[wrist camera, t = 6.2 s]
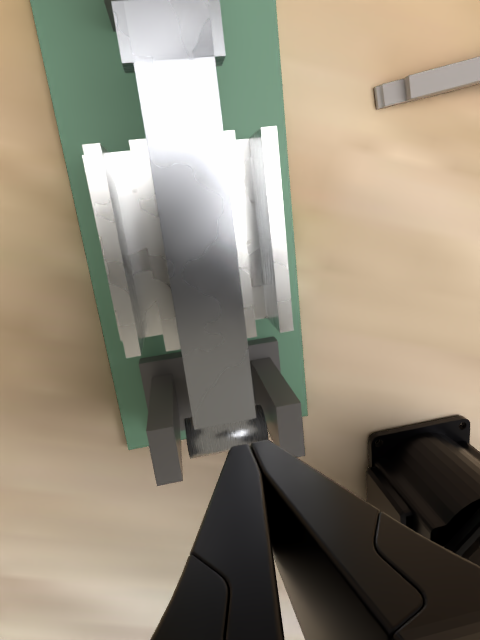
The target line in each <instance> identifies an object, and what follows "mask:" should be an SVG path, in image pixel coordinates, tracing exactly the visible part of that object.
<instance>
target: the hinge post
mask: <svg viewBox="0 0 480 640" xmlns="http://www.w3.org/2000/svg"><path fill="white" fill-rule="evenodd" d="M247 342H248V350H249V359H250V368H251V376H252V385H253V394H254V403H255V405H261V406H262V409H263V412H264V415H265V420H266V424H267V429H268V432H269V434H270V436H271V438H272V440H273V443H274V444H276V445H277V446H279V447H281V448H282V449H284V450H285V451H287V452H289V453H290V454H292V455H293V456H295V457H301V456H305V447H304V435H303V422H302V410H301V402H300V401H299V399H298V398H297V396H296V395H295V393H294V392H293V390H292V389H291V388H290V386H289V385H288V383H287V382H286V380H285V379H284V377H283V376H282V374H281V369H280V359H279V348H278V341H277V339H276V338H275V337H274V336H273V337H267V338H261V339H255V340H249V341H247ZM139 368H140V373H141V378H142V384H143V389H144V394H145V399H146V404H147V409H148V419H147V429H146V433H147V438H148V443H149V448H150V453H151V458H152V463H153V468H154V473H155V478H156V483H157V486H160V485H165V484H169V483H174V482H179V481H183V474H182V454H181V434H180V431H183V430H185V423H184V419H185V418H190V417H192V413H191V406H190V400H189V394H188V388H187V382H186V376H185V370H184V364H183V358H182V352H176V353H170V354H164V355H158V356H152V357H146V358H140V360H139Z"/></svg>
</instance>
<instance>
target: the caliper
mask: <svg viewBox="0 0 480 640" xmlns="http://www.w3.org/2000/svg"><path fill="white" fill-rule="evenodd" d="M476 84H480V57H476V58H472V59H469V60H465V61H461V62H457V63H454V64H450V65H446V66H443V67H439V68H435V69H431V70H428V71H424V72H420V73H417V74H413V75H409V76H407V77H406V78H404V79H401V80H397V81H393V82H389V83H386V84H382V85H380V86H376V87H374V92H375V100H376V108H377V109H381V108H385V107H389V106H393V105H396V104H400V103H406V102H410V101H414V100H419V99H423V98H427V97H431V96H435V95H438V94H442V93H446V92H450V91H454V90H457V89H461V88H465V87H469V86H473V85H476Z"/></svg>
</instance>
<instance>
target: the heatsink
mask: <svg viewBox="0 0 480 640" xmlns="http://www.w3.org/2000/svg"><path fill="white" fill-rule="evenodd" d="M223 133H224V142H225V150H226V159H227V168H228V176H229V185H230V194H231V203H232V211H233V220H234V229H235V237H236V246H237V255H238V263H239V272H240V281H241V290H242V298H243V307H244V316H245V324H246V333H247V338H252V337H257V332H256V323H255V320H258V319H264V318H267V319H268V320H269V321H270V322H271V323H272V325H273V326H274V327H275V328H276V329H277V330H278V331H279V332H280V333H283V332H289V331H294V328H293V316H292V304H291V292H290V279H289V267H288V255H287V243H286V231H285V219H284V207H283V195H282V183H281V171H280V159H279V147H278V135H277V126H271V127H261V128H260V129H259V130H258V131H257V132H255V133H254V134H253V135H252V136H251V137H250V138H249V139H242V140H235V131H234V130H230V131H223ZM129 144H130V150H131V151H122V152H112V153H110V152H108V151H107V150H106V149H105V148H104V147H103V146H102V145H101V144H100V143H95V144H85V145H82V146H83V151H84V155H82V158H83V163H84V167H85V172H86V177H87V182H88V187H89V192H90V196H91V201H92V206H93V211H94V216H95V220H96V225H97V230H98V235H99V240H100V245H101V249H102V254H103V259H104V264H105V269H106V273H107V278H108V283H109V288H110V293H111V298H112V302H113V307H114V312H115V317H116V322H117V326H118V331H119V336H120V341H123V345H124V350H125V355H126V358H130V357H136V356H141V354H142V349H143V344H144V339H145V337H150V336H157V335H163V337H164V343H165V349H166V352H167V351H173V350H179V349H181V346H180V340H179V334H178V328H177V322H176V316H175V310H174V304H173V298H172V292H171V286H170V280H169V274H168V267H167V261H166V255H165V249H164V243H163V237H162V231H161V225H160V219H159V213H158V207H157V201H156V195H155V189H154V183H153V177H152V171H151V165H150V159H149V153H148V147H147V141H146V139H137V140H129Z"/></svg>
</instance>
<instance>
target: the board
mask: <svg viewBox="0 0 480 640" xmlns="http://www.w3.org/2000/svg"><path fill="white" fill-rule="evenodd" d="M30 3H31V7H32V12H33V16H34V21H35V25H36V30H37V35H38V39H39V44H40V48H41V53H42V57H43V62H44V67H45V71H46V76H47V80H48V85H49V89H50V94H51V99H52V103H53V108H54V112H55V117H56V121H57V126H58V130H59V135H60V140H61V144H62V149H63V153H64V158H65V162H66V167H67V172H68V176H69V181H70V185H71V190H72V194H73V199H74V204H75V208H76V213H77V217H78V222H79V226H80V231H81V236H82V240H83V245H84V249H85V254H86V258H87V263H88V267H89V272H90V277H91V281H92V286H93V290H94V295H95V299H96V304H97V309H98V313H99V318H100V322H101V327H102V331H103V336H104V341H105V345H106V350H107V354H108V359H109V363H110V368H111V373H112V377H113V382H114V386H115V391H116V395H117V400H118V405H119V409H120V414H121V418H122V423H123V427H124V432H125V436H126V441H127V446H128V450H131V449H136V448H142V447H147V446H149V443H148V438H147V433H146V429H147V419H148V409H147V404H146V399H145V394H144V389H143V384H142V378H141V373H140V368H139V360H140V358H146V357H152V356H158V355H164V354H170V353H176V352H181V349H179V350H173V351H167V352H166V349H165V343H164V337H163V335H157V336H150V337H145V339H144V344H143V349H142V354H141V356H136V357H130V358H126V355H125V350H124V345H123V341H120V336H119V331H118V326H117V322H116V317H115V312H114V307H113V302H112V298H111V293H110V288H109V283H108V278H107V273H106V269H105V264H104V259H103V254H102V249H101V245H100V240H99V235H98V230H97V225H96V220H95V216H94V211H93V206H92V201H91V196H90V192H89V187H88V182H87V177H86V172H85V167H84V163H83V158H82V155H84V151H83V146H82V145H85V144H95V143H100V144H101V145H102V146H103V147H104V148H105V149H106V150H107V151H108V152H110V153H112V152H122V151H131V150H130V144H129V140H137V139H146V135H145V128H144V122H143V116H142V110H141V104H140V98H139V92H138V86H137V80H136V74H135V73H125V71H124V68H123V65H122V61H121V55H120V50H119V44H118V38H117V32H113V28H112V25H111V22H110V19H109V16H108V12H107V9H106V6H105V3H104V0H30ZM220 7H221V17H222V26H223V35H224V44H225V54H226V56H225V59H224V62H223V64H222V66H216V72H217V81H218V90H219V98H220V107H221V116H222V124H223V131H230V130H234V131H235V140H242V139H249V138H250V137H251V136H252V135H253V134H254V133H255V132H257V131H258V130H259V129H260V128H261V127H271V126H277V135H278V147H279V159H280V171H281V183H282V195H283V207H284V219H285V231H286V243H287V255H288V267H289V279H290V292H291V304H292V316H293V328H294V331H289V332H283V333H280V332H279V331H278V330H277V329H276V328H275V327H274V326H273V325H272V323H271V322H270V321H269V320H268V319H267V318H264V319H258V320H255V323H256V332H257V337H252V338H247V341H249V340H255V339H261V338H267V337H273V336H274V337H275V338H276V339H277V341H278V348H279V359H280V369H281V374H282V376H283V377H284V379H285V380H286V382H287V383H288V385H289V386H290V388H291V389H292V390H293V392H294V393H295V395H296V396H297V398H298V399H299V401H300V402H301V410H302V417H303V416H308V412H307V399H306V386H305V373H304V360H303V348H302V335H301V322H300V309H299V296H298V283H297V270H296V257H295V244H294V231H293V219H292V206H291V193H290V180H289V167H288V154H287V141H286V128H285V115H284V103H283V90H282V77H281V64H280V51H279V38H278V25H277V12H276V0H220ZM180 434H181V440H183V439H186V432H185V430H183V431H180Z"/></svg>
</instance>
